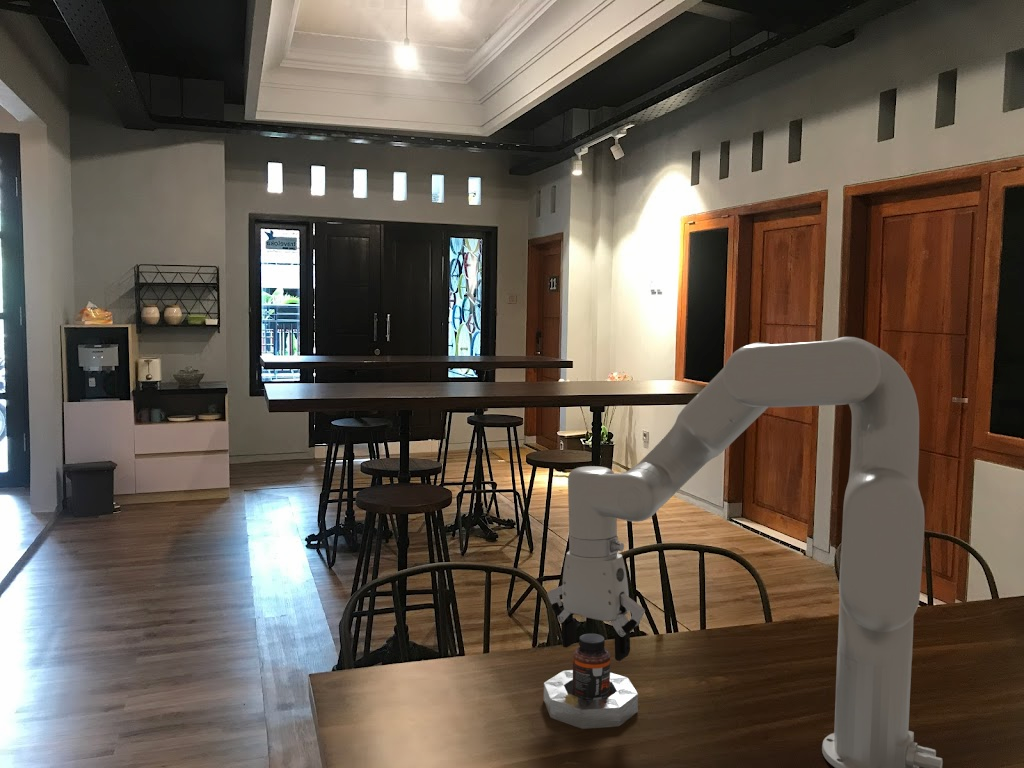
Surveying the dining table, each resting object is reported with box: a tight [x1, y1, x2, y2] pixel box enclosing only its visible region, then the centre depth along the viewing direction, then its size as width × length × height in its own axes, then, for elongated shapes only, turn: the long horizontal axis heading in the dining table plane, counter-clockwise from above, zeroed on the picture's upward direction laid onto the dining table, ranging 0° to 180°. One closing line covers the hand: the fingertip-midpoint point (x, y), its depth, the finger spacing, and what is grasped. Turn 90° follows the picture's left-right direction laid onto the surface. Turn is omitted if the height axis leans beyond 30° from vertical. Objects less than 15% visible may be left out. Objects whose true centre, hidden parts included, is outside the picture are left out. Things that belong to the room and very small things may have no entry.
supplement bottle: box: [572, 633, 611, 700], centre depth 133 cm, size 6×6×11 cm
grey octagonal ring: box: [543, 669, 639, 730], centre depth 133 cm, size 14×14×4 cm
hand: (595, 651), depth 132 cm, fingers open, 9 cm apart
